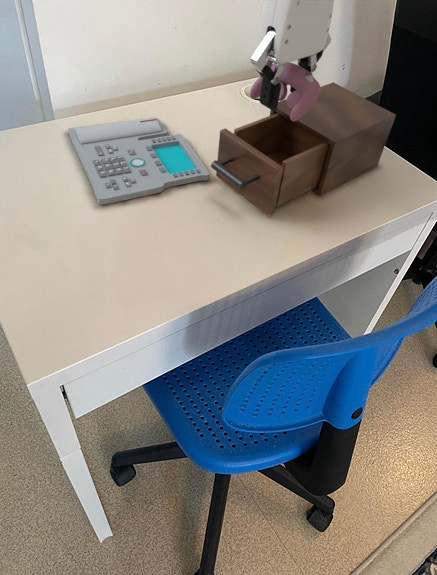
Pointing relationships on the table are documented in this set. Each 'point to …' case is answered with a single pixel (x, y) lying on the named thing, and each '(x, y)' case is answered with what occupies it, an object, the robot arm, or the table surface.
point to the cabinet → (344, 133)
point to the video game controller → (297, 79)
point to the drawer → (270, 161)
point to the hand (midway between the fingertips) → (283, 99)
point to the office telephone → (134, 159)
